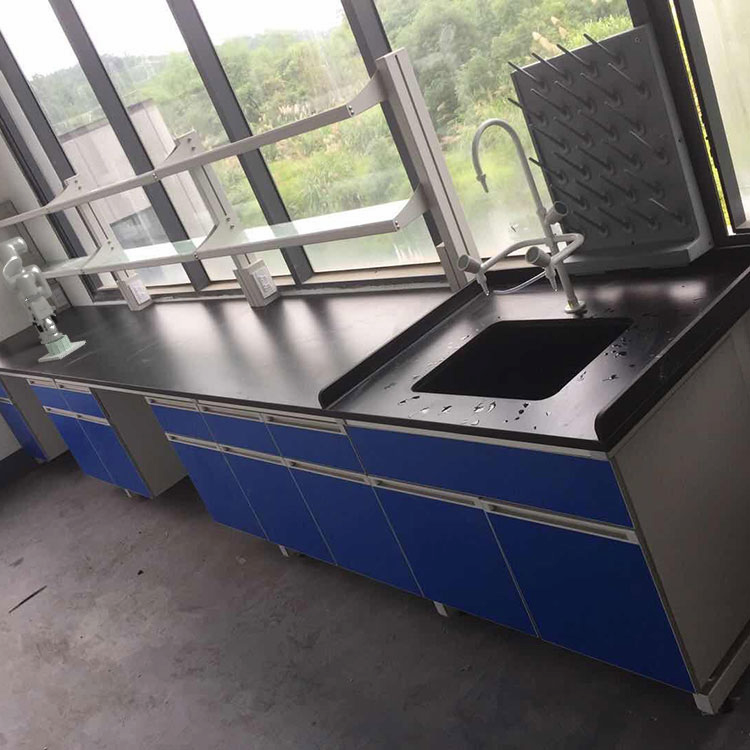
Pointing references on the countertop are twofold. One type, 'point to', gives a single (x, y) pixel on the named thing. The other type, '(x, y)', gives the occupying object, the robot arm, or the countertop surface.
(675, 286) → the countertop surface
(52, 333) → the plastic bottle
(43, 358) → the bottle stand
